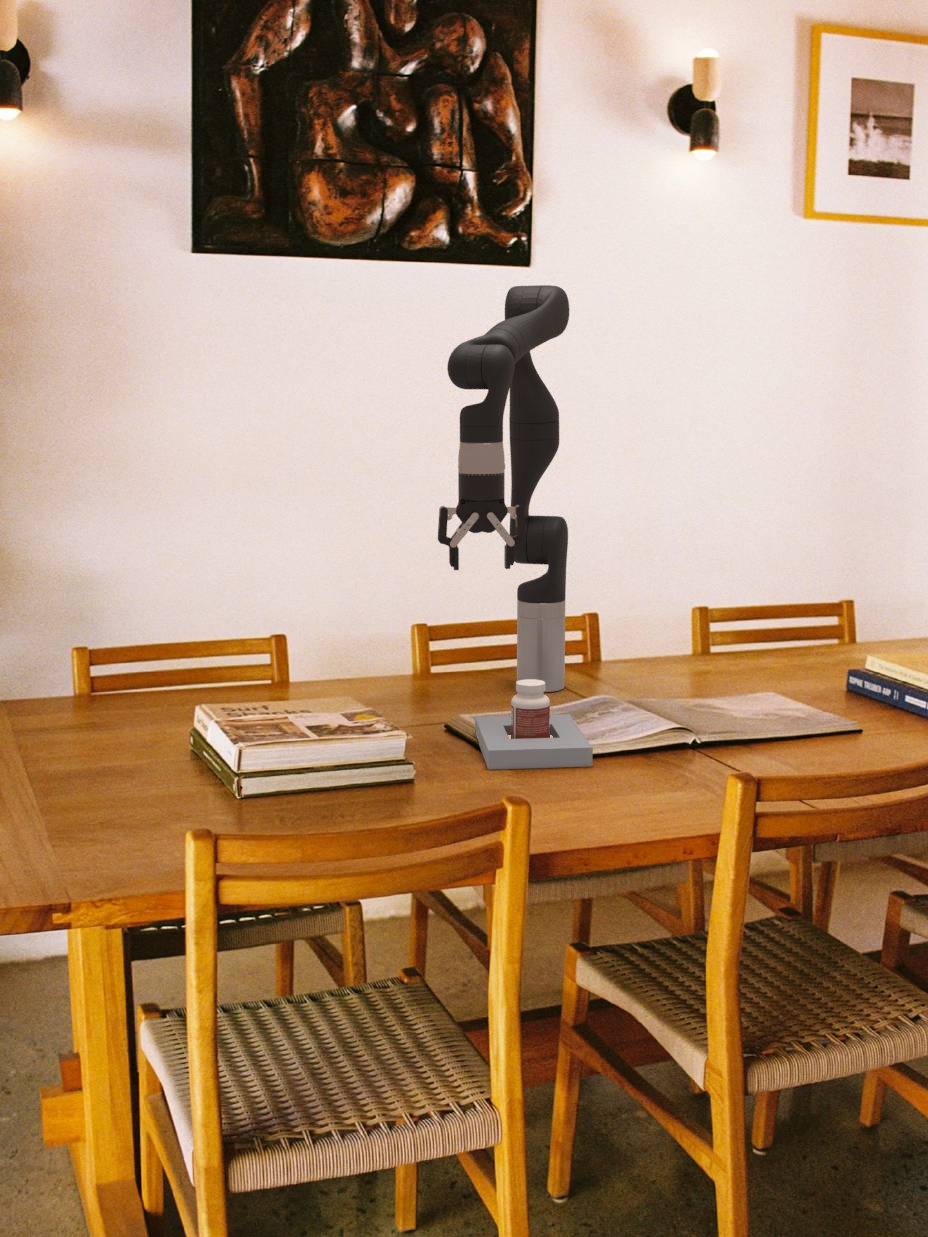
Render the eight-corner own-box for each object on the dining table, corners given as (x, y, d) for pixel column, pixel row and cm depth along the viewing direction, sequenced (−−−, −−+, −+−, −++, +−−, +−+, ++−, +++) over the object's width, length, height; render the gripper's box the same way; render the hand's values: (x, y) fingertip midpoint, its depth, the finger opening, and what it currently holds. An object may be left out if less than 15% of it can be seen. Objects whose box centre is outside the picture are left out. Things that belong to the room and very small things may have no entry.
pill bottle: (557, 751, 200) (558, 683, 198) (526, 757, 196) (526, 688, 194) (534, 742, 205) (534, 676, 203) (503, 748, 201) (503, 680, 199)
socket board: (475, 734, 210) (475, 716, 209) (569, 731, 211) (569, 714, 210) (488, 769, 190) (488, 750, 189) (592, 766, 191) (592, 747, 191)
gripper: (521, 468, 208) (521, 564, 211) (435, 469, 206) (436, 566, 209) (528, 471, 200) (527, 571, 204) (439, 472, 199) (440, 573, 202)
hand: (481, 568), depth 206 cm, fingers open, 8 cm apart
